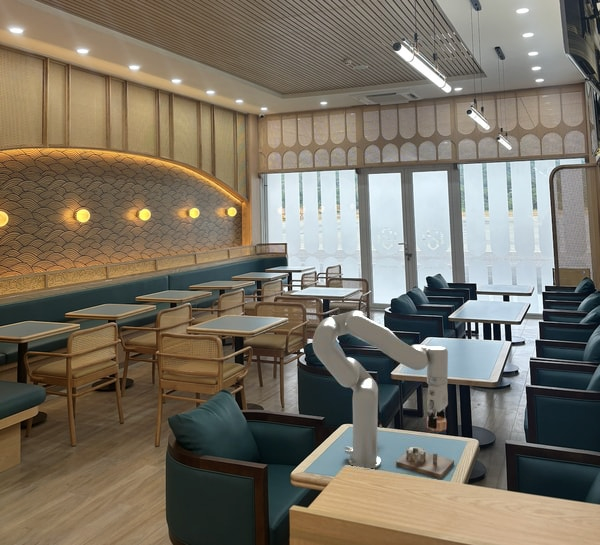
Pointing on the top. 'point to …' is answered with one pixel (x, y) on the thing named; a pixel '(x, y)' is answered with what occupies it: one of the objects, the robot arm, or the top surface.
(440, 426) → the terracotta gear
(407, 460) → the gear board
